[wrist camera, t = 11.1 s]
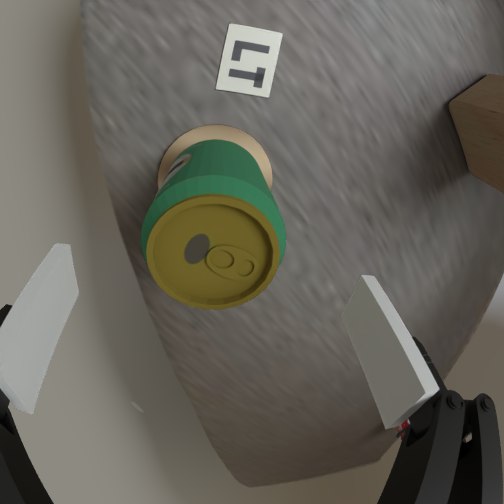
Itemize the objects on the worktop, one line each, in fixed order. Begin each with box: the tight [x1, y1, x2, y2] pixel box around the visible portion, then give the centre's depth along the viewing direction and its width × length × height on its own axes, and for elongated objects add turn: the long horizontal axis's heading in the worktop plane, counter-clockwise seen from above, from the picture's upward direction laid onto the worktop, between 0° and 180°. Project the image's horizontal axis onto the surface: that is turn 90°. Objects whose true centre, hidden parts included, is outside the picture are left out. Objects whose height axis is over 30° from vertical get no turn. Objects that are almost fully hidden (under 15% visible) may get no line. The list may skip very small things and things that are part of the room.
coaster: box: [158, 125, 272, 191], centre depth 25 cm, size 10×10×1 cm
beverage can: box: [141, 139, 286, 310], centre depth 20 cm, size 8×8×12 cm
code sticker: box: [216, 24, 283, 98], centre depth 20 cm, size 6×4×1 cm
